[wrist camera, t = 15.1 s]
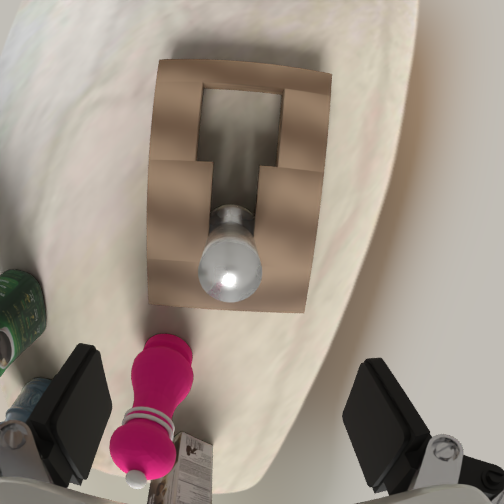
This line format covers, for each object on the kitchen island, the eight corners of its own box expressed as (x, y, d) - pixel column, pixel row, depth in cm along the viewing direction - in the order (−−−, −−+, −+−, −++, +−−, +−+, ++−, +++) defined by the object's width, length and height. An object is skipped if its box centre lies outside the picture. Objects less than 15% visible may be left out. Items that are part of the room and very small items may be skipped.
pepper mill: (130, 342, 36) (75, 467, 17) (175, 320, 35) (136, 458, 16) (162, 381, 38) (133, 507, 19) (207, 363, 37) (196, 500, 18)
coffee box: (186, 465, 44) (180, 539, 29) (154, 451, 43) (141, 527, 27) (215, 445, 43) (213, 528, 27) (181, 429, 41) (170, 516, 26)
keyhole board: (167, 70, 27) (159, 59, 23) (320, 83, 28) (331, 73, 25) (157, 288, 34) (148, 304, 30) (296, 296, 35) (304, 313, 31)
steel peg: (203, 202, 31) (187, 227, 20) (261, 206, 32) (278, 233, 21) (201, 257, 33) (186, 309, 22) (256, 261, 34) (269, 314, 22)
